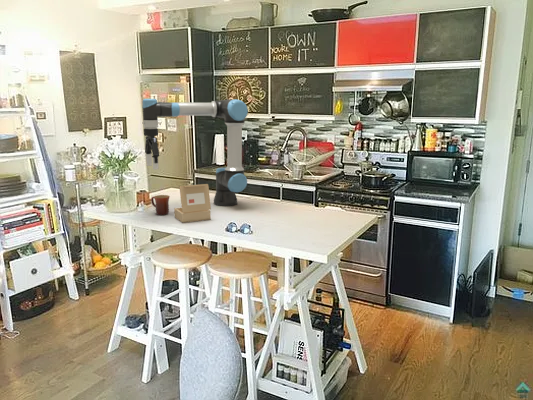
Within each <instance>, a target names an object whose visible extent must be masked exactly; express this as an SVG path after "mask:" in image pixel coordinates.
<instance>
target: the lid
mask: <svg viewBox="0 0 533 400" xmlns="http://www.w3.org/2000/svg"><path fill="white" fill-rule="evenodd" d="M179 194H180V205H181V208H182V213H183V212H192V211H201V210H210V211H211V210H212V208H211V207H212V206H211V199H210V198H211V197H210V188H209V184H208V183H201V184H191V185H190V184H189V185H180V186H179Z"/></svg>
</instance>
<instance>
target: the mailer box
mask: <svg viewBox="0 0 533 400" xmlns="http://www.w3.org/2000/svg"><path fill="white" fill-rule="evenodd" d="M211 215H212V214H211V209H210V210H201V211H192V212H183V213H182V207H174V218H175V219H177V220H178V221H179V222H181V224H186V223H194V222H201V221H202V220H204V221H210V220H211ZM202 222H203V221H202Z"/></svg>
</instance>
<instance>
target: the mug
mask: <svg viewBox="0 0 533 400" xmlns="http://www.w3.org/2000/svg"><path fill="white" fill-rule="evenodd" d="M170 197H171V196H170V195H168V194H158V195H157V194H156V195H154V196H152V197H150V201H151V204H152V206H153V207H154V208H155V214H156V215H157V216H166V215H168V214H169V212H170V207H169V206H170V205H169V201H170Z"/></svg>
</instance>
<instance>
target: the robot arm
mask: <svg viewBox="0 0 533 400" xmlns="http://www.w3.org/2000/svg"><path fill="white" fill-rule="evenodd" d="M248 113H249V109H248V106H247V104H246V103H245V102H244V101H242V100H240V99H237V98H236V99H231V98H229V99H228V98H227V99H222V100H212V101H211V102H194V101H193V102H189V101H188V102H187V101H186V102H185V101H184V102H181V101H180V102H176V101H175V102H172V101H171V102H170V101H169V102H165V101H164V102H163V101H158V99H157V98H144V99H142V120H143V121H142V124H143V136H145V146H144V153H145V157H146V158H145V159H146V166H147V167H152V170H159V168H160V167H159V157H160V151H159V145H158V138H157V136H158V135H159V129H158V128H159V120H158V118H160V117H161V118H163V117H165V118H166V117H167V118H169V117H170V118H171V117H172V118H174V117H176V118H177V117H179V116H180V117H181V116H182V117H184V116H185V117H186V116H187V117H188V116H191V117H192V116H195V117H197V116H208V117H210V116H211V117H212V118H221V119H224V124H225V125H226V128H227V130H226V131H227V134H226V135H227V136H226V138H227V139H226V141H227V143H226V144H227V146H226V147H227V149H226V151H227V152H226V153H227V155H226V156H227V160H226V161H227V166H226V167H217V168H216V169H215V190H216V191H215V194H214V197H213V205H216V206H219V207H230V206H232V207H233V206H235V205H238V197H237V194H236V193H241V192H243V190H245V189H246V188H247V185H248V178H247V176H246V175H245V168H244V167H243V165H242V163H243V162H242V161H243V157H242V155H243V146H242V145H243V142H242V141H243V126H244V124H245V119H246V117H247V116H248Z"/></svg>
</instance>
